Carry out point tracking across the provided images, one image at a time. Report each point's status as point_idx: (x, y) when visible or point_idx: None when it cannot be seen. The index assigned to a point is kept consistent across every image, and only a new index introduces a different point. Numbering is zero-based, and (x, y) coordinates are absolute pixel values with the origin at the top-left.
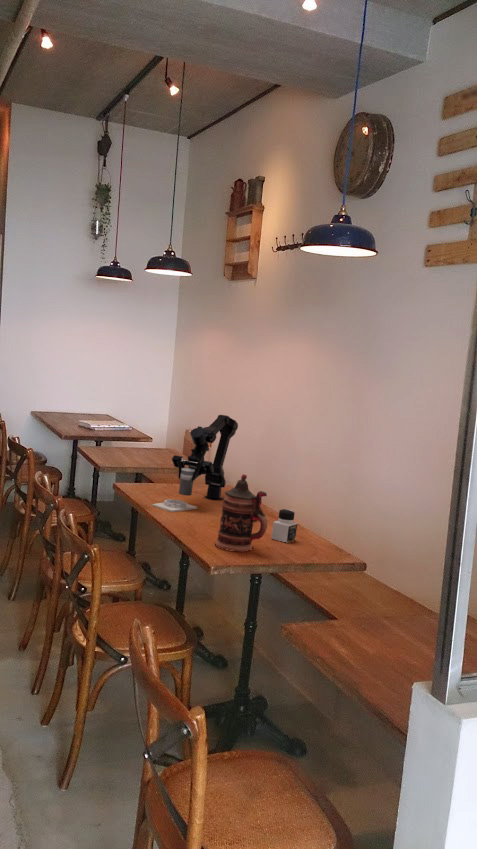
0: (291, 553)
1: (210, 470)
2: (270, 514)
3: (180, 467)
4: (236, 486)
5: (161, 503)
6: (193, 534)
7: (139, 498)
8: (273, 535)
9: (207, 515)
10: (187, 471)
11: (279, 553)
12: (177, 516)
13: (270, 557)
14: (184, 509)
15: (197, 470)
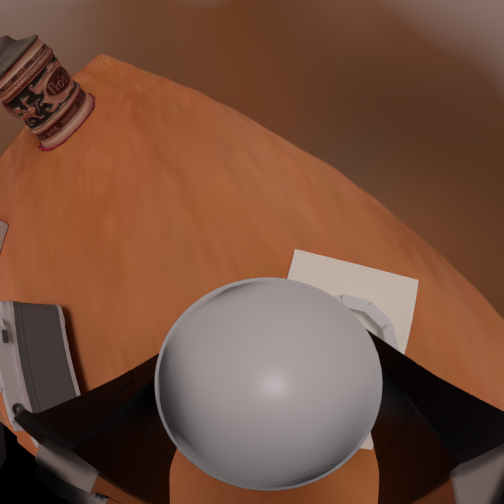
0: (3, 176)
1: (29, 452)
2: None
3: (416, 384)
4: (13, 39)
5: (401, 331)
6: (136, 105)
7: (499, 348)
8: (1, 221)
9: (157, 335)
10: (227, 289)
11: (15, 159)
12: (241, 211)
13: (29, 132)
14: None
15: (108, 386)
